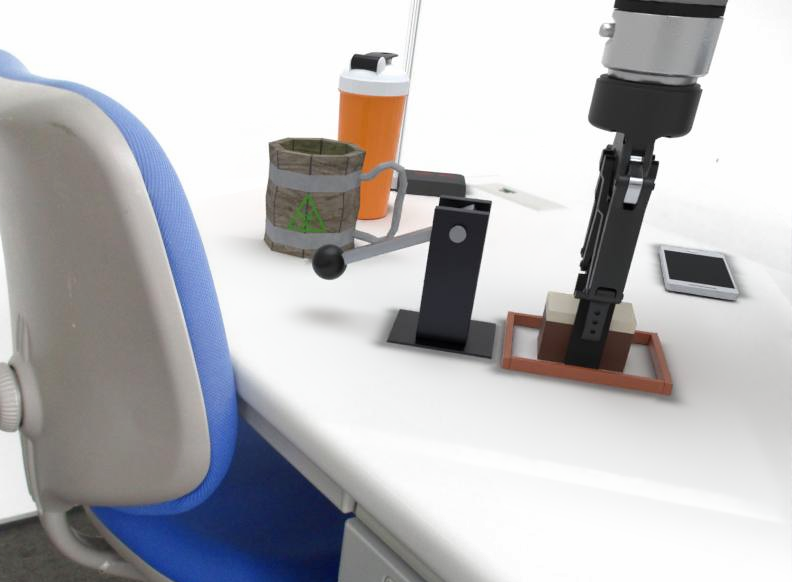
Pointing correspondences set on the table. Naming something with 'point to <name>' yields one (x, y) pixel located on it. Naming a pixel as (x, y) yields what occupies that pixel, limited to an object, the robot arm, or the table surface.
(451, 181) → the usb drive
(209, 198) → the table surface
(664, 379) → the reddish-brown rectangular frame
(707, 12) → the robot arm
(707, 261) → the smartphone
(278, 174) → the mug
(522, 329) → the table surface
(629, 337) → the cake slice
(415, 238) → the lever
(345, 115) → the shaker bottle
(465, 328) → the lever stand
